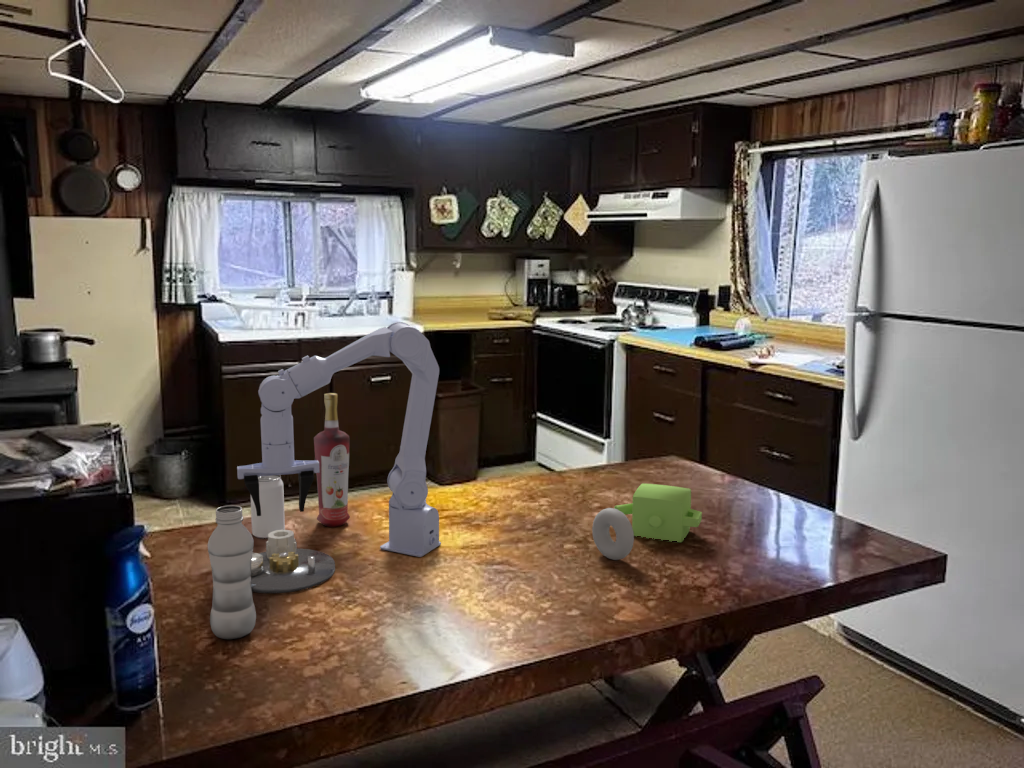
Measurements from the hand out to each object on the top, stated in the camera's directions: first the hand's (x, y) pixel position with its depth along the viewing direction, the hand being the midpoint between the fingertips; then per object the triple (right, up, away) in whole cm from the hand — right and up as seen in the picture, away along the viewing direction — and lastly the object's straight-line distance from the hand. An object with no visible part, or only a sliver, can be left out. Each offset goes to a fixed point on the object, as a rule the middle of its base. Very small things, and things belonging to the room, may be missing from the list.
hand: (280, 512), depth 152 cm
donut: (+63, -10, +5) cm, 63 cm away
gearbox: (+73, -8, +19) cm, 76 cm away
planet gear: (0, -8, +2) cm, 8 cm away
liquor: (+5, -6, +22) cm, 23 cm away
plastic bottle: (+1, -15, -27) cm, 31 cm away
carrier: (+1, -10, -5) cm, 11 cm away
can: (-7, -7, +15) cm, 18 cm away
